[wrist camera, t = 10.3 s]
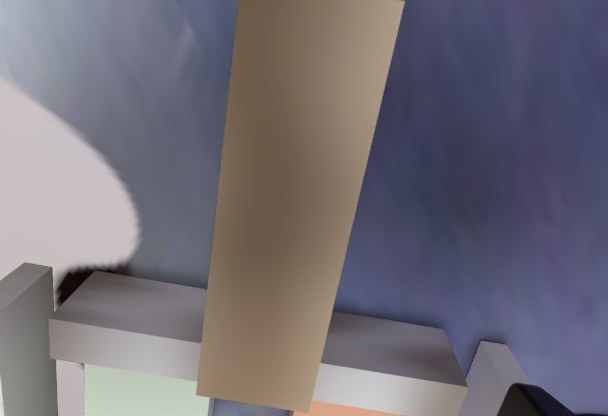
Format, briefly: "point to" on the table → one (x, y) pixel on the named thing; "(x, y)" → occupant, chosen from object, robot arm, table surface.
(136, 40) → the table surface
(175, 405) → the tile sage
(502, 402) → the robot arm
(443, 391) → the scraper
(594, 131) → the table surface
